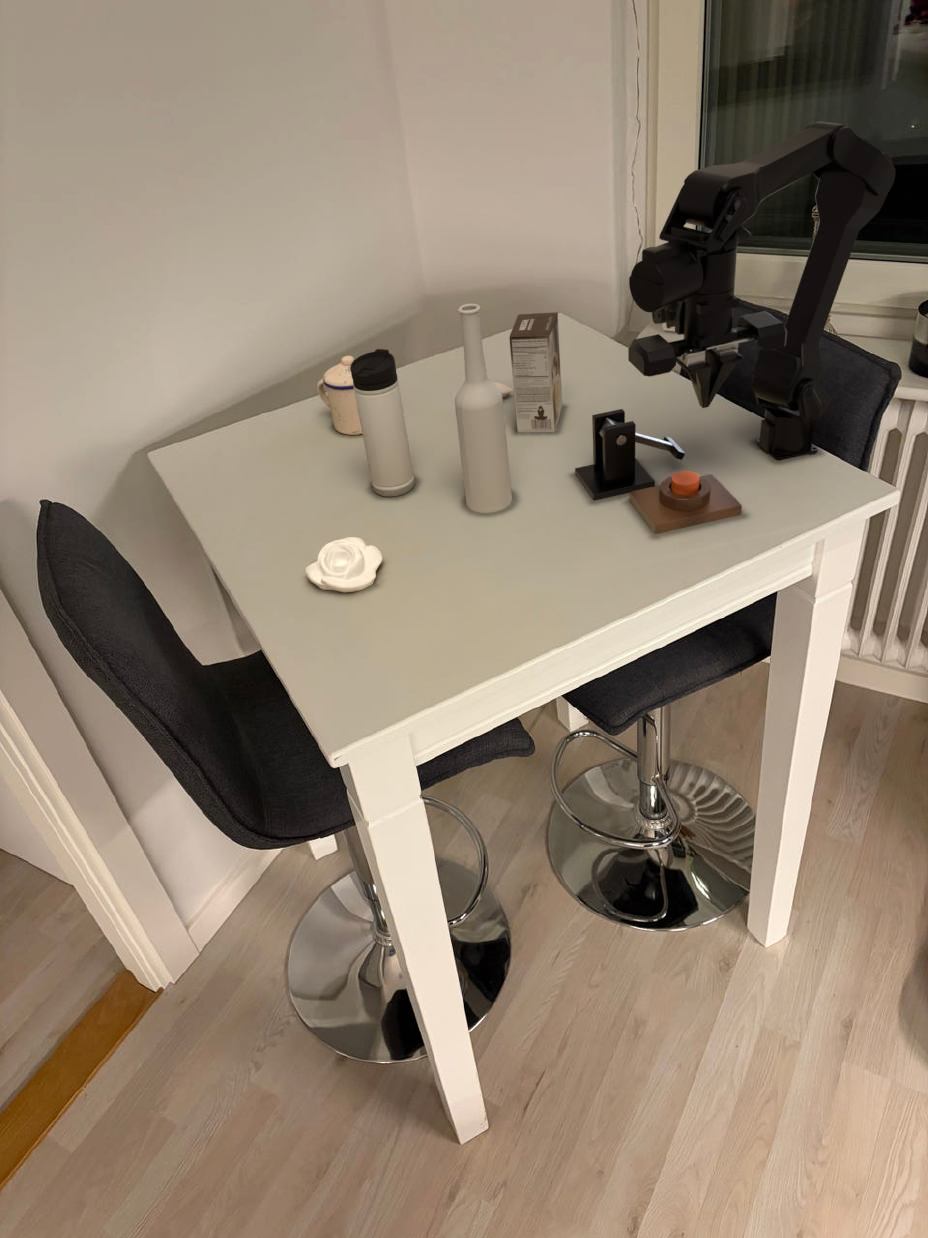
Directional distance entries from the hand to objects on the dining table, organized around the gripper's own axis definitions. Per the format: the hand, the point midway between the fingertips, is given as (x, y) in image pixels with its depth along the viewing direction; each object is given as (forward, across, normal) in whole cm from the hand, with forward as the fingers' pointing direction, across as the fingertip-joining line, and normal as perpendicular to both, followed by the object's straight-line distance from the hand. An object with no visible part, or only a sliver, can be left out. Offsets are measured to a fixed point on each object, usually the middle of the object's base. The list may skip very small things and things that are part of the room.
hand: (704, 406), depth 120 cm
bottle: (+13, +28, -9) cm, 32 cm away
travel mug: (+13, +40, -19) cm, 46 cm away
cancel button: (+10, +4, +3) cm, 11 cm away
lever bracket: (+13, +10, -7) cm, 18 cm away
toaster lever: (+8, +6, -7) cm, 12 cm away
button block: (+13, +4, +3) cm, 14 cm away
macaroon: (+13, +18, -41) cm, 47 cm away
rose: (+12, +50, 0) cm, 51 cm away
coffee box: (+13, +14, -30) cm, 36 cm away
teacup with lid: (+13, +42, -43) cm, 62 cm away
